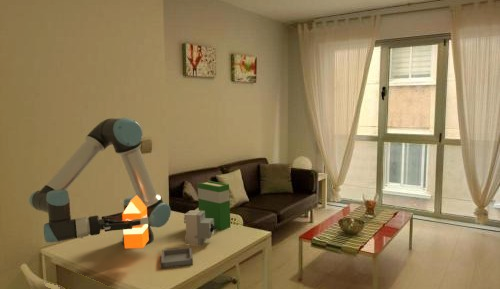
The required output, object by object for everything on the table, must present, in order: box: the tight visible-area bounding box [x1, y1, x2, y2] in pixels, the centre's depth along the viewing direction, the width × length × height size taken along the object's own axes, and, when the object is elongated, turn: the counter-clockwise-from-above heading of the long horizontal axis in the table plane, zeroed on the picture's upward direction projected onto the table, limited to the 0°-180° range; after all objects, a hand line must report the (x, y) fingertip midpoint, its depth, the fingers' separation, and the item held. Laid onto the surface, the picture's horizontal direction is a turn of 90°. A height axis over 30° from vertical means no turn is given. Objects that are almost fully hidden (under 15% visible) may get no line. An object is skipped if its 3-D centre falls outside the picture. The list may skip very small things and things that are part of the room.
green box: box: [197, 180, 231, 232], centre depth 204 cm, size 18×7×24 cm, turn 48°
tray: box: [160, 246, 194, 270], centre depth 160 cm, size 14×13×2 cm
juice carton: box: [122, 195, 149, 249], centre depth 153 cm, size 8×9×20 cm
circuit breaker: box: [183, 209, 216, 246], centre depth 179 cm, size 8×14×15 cm, turn 78°
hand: (145, 216), depth 155 cm, fingers closed on juice carton, 10 cm apart
